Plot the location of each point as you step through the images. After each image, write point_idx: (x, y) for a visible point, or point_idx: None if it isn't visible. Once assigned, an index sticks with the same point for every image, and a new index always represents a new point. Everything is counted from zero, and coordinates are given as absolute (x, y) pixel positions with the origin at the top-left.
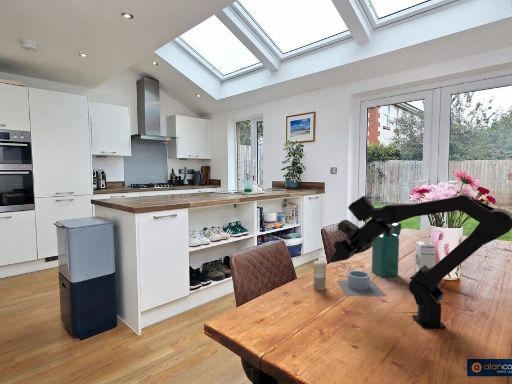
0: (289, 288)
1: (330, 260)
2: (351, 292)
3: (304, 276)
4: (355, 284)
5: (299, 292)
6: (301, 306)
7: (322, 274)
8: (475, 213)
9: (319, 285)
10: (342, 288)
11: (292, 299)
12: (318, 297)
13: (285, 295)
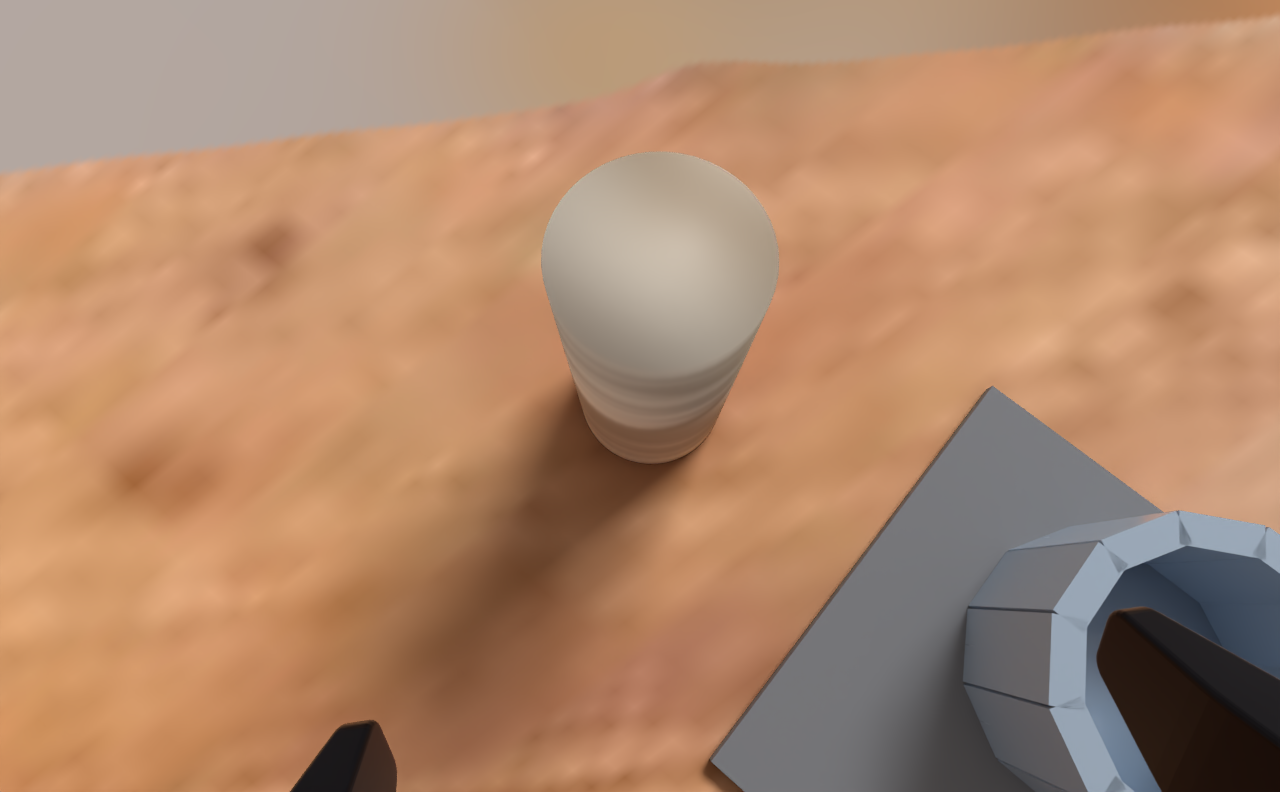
0: (393, 194)
1: (342, 742)
2: (846, 746)
3: (787, 71)
4: (1007, 725)
5: (389, 328)
6: (112, 582)
7: (618, 410)
8: None
9: (593, 422)
10: (852, 592)
11: (188, 403)
12: (439, 549)
13: (218, 290)
